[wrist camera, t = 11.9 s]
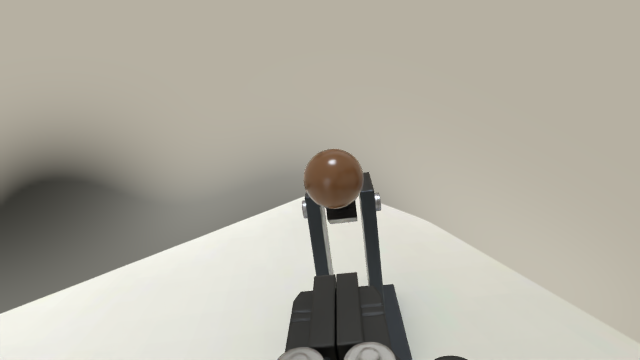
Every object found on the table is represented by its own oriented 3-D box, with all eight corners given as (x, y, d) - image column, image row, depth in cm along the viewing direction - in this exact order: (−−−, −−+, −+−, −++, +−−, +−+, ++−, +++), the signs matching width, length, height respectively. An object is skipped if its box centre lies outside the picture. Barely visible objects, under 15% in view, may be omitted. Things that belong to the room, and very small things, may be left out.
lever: (367, 200, 19) (360, 137, 20) (302, 207, 19) (297, 145, 20) (363, 225, 32) (359, 186, 32) (324, 229, 32) (320, 190, 33)
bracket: (413, 373, 29) (401, 202, 25) (307, 381, 30) (278, 215, 26) (394, 294, 39) (383, 160, 35) (314, 301, 40) (293, 170, 35)
